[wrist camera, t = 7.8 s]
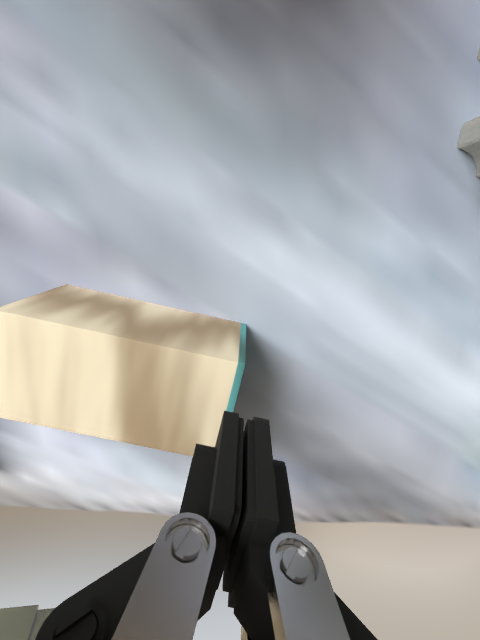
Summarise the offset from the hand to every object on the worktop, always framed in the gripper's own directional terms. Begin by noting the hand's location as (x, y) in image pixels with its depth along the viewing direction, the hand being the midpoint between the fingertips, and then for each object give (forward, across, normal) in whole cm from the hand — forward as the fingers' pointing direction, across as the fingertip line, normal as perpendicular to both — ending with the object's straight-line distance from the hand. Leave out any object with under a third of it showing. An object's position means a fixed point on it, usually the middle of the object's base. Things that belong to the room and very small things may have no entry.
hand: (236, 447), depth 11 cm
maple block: (+4, 0, 0) cm, 4 cm away
